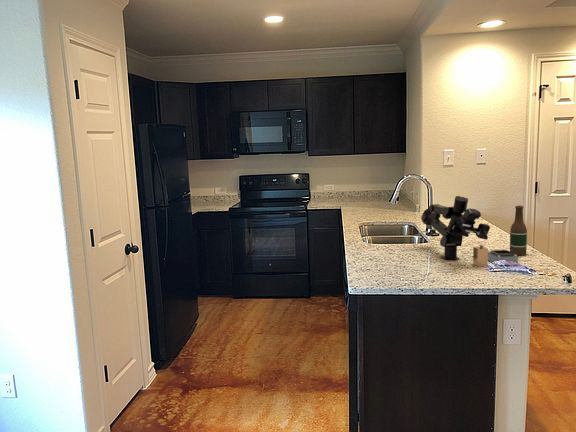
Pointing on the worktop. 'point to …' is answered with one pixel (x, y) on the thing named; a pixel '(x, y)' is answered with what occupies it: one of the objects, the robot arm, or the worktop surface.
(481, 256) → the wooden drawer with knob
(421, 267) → the worktop surface
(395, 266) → the worktop surface
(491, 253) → the drawer cabinet
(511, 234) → the beer bottle
